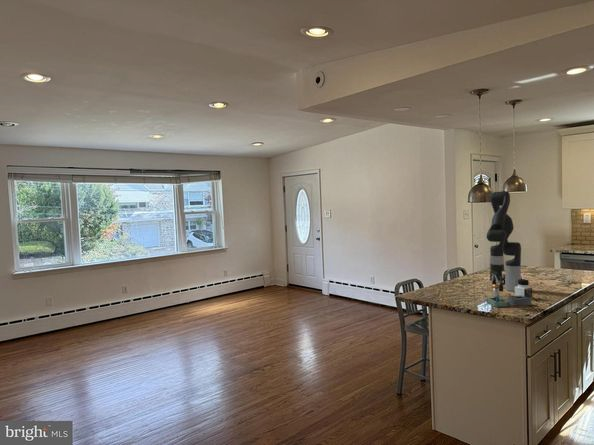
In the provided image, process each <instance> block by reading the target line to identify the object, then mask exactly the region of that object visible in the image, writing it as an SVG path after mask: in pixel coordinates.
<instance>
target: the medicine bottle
mask: <svg viewBox="0 0 594 445" xmlns="http://www.w3.org/2000/svg"><path fill="white" fill-rule="evenodd" d="M529 285H530V282H529V280H528V279H527V278H521V279H519V280H518V286H516V287H515V291H514V296H521V295H523V296H525V297H528V298H530V299H531V300H532V299H533V287H531V286H529Z"/></svg>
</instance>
